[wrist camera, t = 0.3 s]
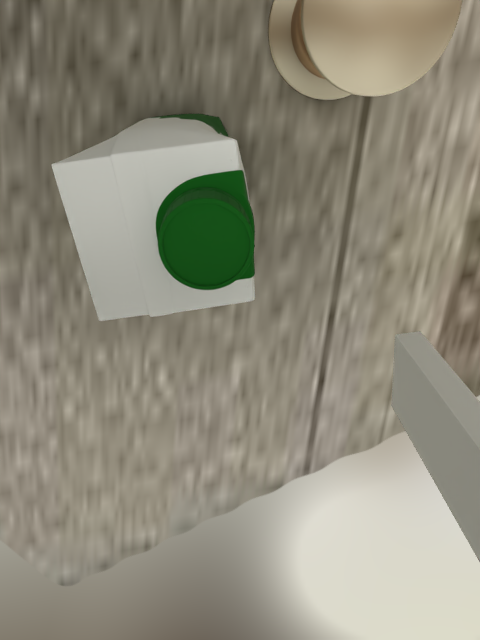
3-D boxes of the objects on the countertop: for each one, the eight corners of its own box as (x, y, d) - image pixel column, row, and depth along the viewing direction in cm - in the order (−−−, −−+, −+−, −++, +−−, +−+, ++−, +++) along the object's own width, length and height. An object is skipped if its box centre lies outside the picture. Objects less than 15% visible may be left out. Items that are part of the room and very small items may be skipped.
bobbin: (257, -33, 30) (281, -87, 21) (389, -65, 30) (477, -136, 20) (279, 111, 34) (307, 123, 25) (395, 84, 34) (469, 85, 24)
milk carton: (242, 215, 38) (272, 331, 20) (137, 230, 38) (76, 358, 20) (229, 101, 34) (252, 124, 16) (110, 118, 34) (6, 157, 16)
